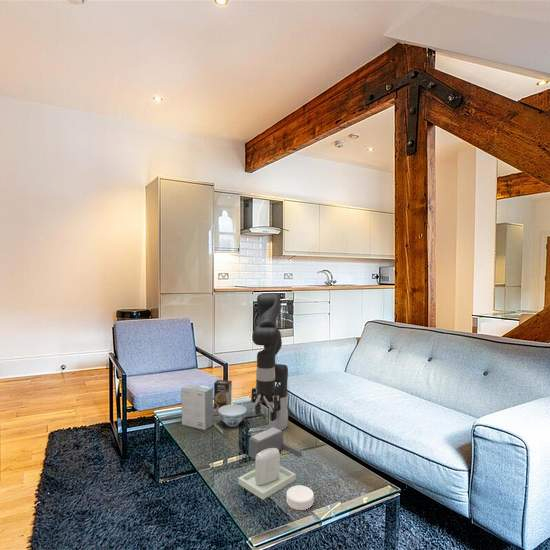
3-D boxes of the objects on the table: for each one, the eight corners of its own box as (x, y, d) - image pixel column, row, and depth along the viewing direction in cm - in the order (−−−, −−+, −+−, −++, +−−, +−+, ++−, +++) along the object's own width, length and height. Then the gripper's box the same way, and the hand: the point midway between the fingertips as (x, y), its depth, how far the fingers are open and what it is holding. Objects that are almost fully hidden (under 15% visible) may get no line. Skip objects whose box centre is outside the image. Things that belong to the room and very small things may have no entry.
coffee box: (213, 410, 221) (213, 382, 220) (216, 406, 227) (217, 379, 227) (228, 411, 219) (228, 383, 219) (231, 407, 226) (231, 380, 225)
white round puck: (317, 509, 134) (317, 499, 134) (290, 512, 132) (290, 502, 132) (309, 492, 144) (309, 483, 144) (283, 495, 142) (283, 486, 142)
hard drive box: (213, 424, 201) (213, 387, 201) (205, 430, 194) (205, 392, 194) (189, 419, 208) (189, 383, 207) (180, 424, 201) (180, 387, 200)
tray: (270, 466, 161) (270, 460, 161) (295, 480, 152) (295, 474, 151) (238, 483, 148) (238, 477, 148) (263, 500, 139) (263, 493, 139)
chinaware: (250, 419, 208) (250, 406, 208) (241, 431, 194) (241, 416, 193) (224, 416, 212) (224, 403, 212) (213, 428, 197) (213, 413, 197)
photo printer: (274, 473, 155) (275, 443, 154) (281, 478, 151) (281, 448, 151) (253, 482, 149) (253, 450, 148) (259, 487, 145) (259, 455, 145)
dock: (275, 443, 182) (275, 425, 182) (301, 455, 171) (301, 436, 170) (246, 457, 169) (246, 438, 168) (272, 471, 158) (272, 450, 157)
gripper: (285, 379, 149) (285, 419, 150) (260, 371, 159) (259, 409, 160) (271, 384, 144) (271, 425, 145) (246, 375, 154) (246, 414, 154)
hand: (265, 417), depth 152 cm, fingers open, 8 cm apart
